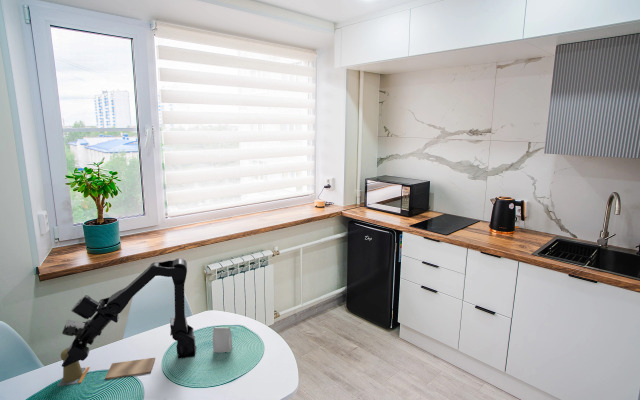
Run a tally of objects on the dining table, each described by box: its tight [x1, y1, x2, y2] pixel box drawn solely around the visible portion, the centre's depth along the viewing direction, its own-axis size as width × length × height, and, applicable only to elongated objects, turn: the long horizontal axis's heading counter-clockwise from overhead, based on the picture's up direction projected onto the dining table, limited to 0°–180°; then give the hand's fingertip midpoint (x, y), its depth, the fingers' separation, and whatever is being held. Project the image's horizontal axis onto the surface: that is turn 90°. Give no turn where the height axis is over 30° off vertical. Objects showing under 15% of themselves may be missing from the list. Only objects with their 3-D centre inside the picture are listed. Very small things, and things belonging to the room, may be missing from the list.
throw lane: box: [57, 357, 156, 387], centre depth 136 cm, size 31×8×1 cm, turn 103°
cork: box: [60, 347, 84, 382], centre depth 132 cm, size 6×6×11 cm
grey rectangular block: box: [212, 326, 233, 353], centre depth 149 cm, size 4×7×10 cm, turn 88°
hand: (65, 358), depth 131 cm, fingers open, 9 cm apart
